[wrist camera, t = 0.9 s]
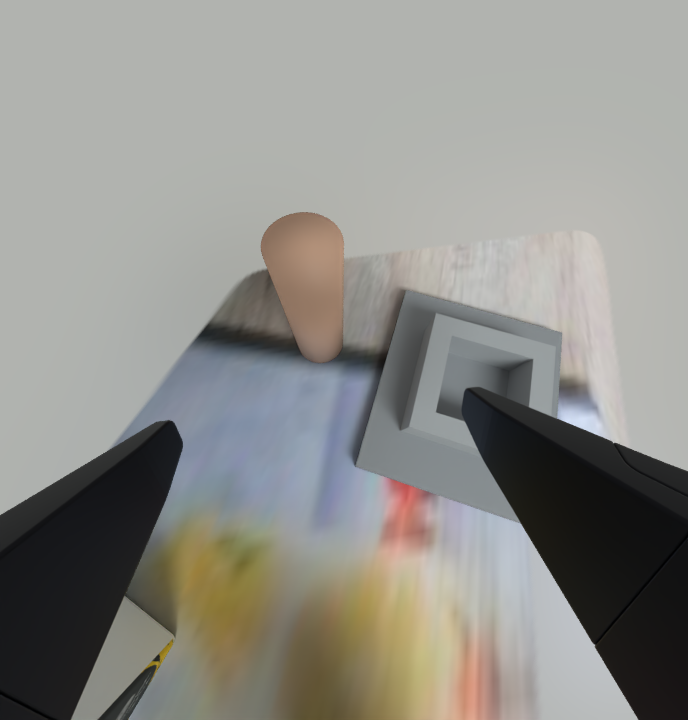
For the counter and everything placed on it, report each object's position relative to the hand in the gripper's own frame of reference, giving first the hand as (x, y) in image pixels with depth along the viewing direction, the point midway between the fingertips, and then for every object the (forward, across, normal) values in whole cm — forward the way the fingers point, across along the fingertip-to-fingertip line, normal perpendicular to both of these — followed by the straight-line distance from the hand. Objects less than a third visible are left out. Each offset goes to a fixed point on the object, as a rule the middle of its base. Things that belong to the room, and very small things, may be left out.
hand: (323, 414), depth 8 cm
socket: (+11, -11, +8) cm, 18 cm away
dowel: (+16, 0, +4) cm, 16 cm away
